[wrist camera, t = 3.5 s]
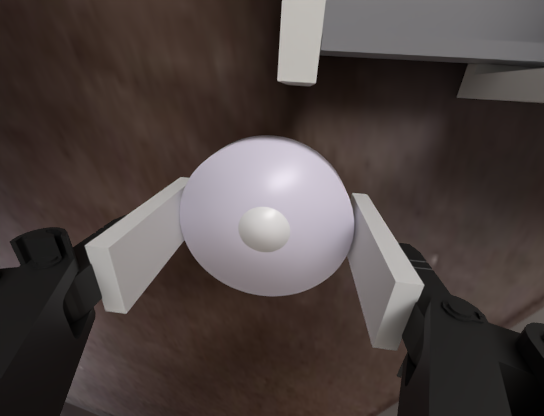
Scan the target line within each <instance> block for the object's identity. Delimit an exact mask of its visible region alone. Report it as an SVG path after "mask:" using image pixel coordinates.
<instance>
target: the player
mask: <svg viewBox="0 0 544 416" xmlns="http://www.w3.org/2000/svg"><path fill="white" fill-rule="evenodd" d="M456 98H469V99H485V100H501V101H517V102H533V103H544V67H530V66H511V65H492V64H473V63H468V66H467V68H466V71H465V74H464V77H463V80H462V83H461V86H460V89H459V92H458V94H457V97H456Z"/></svg>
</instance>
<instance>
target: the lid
mask: <svg viewBox="0 0 544 416" xmlns="http://www.w3.org/2000/svg"><path fill="white" fill-rule="evenodd" d="M179 213H180V225H181V230H182V233H183V237H184V240H185V242H186V244H187V246H188V248H189V250H190V251H191V253H192V255H193V256H194V258H195V259H196V260H197V261H198V263H199V264H200V265H201V266H202V267H203V268H204V269H205V270H206V271H207V272H208V273H210V274H211V275H212V276H213V277H215V278H216V279H218V280H219V281H221V282H222V283H224V284H226V285H228V286H230V287H232V288H235V289H237V290H240V291H243V292H246V293H250V294H255V295H261V296H285V295H292V294H296V293H300V292H303V291H306V290H308V289H311V288H313V287H315V286H317V285H318V284H320V283H322V282H323V281H325V280H326V279H327V278H328V277H330V276H331V275H332V274H333V273H334V272H335V271H336V270H337V269H338V268H339V267H340V265H341V264H342V262H343V261H344V259H345V258H346V256H347V254H348V252H349V250H350V247H351V243H352V240H353V234H354V215H353V208H352V205H351V202H350V199H349V196H348V194H347V192H346V190H345V187H344V185H343V183H342V181H341V179H340V177H339V175H338V174H337V172H336V171H335V169H334V168H333V166H332V165H331V164H330V163H329V162H328V161H327V160H326V159H325V158H324V157H323V156H322V155H321V154H319V153H318V152H317V151H315V150H314V149H312V148H311V147H309V146H307V145H305V144H303V143H301V142H299V141H296V140H293V139H290V138H286V137H281V136H274V135H259V136H251V137H247V138H243V139H239V140H237V141H235V142H232V143H230V144H228V145H227V146H225V147H223V148H222V149H220V150H219V151H217V152H216V153H215V154H213V155H212V156H210V157H209V158H208V159H207V160H205V161H204V162H203V163H202V164H201V165H200V166H199V167H198V168H197V169H196V170H195V171H194V172H193V174H192V175H191V177H190V179H189V180H188V182H187V184H186V186H185V188H184V191H183V194H182V198H181V202H180V211H179Z"/></svg>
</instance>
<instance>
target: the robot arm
mask: <svg viewBox="0 0 544 416" xmlns="http://www.w3.org/2000/svg"><path fill="white" fill-rule="evenodd" d="M189 179H190V178H184V177H180V178H179V179H177V180H176V181H175V182H173V183H172V184H170V185H169V186H168V187H166V188H165V189H163V190H162V191H160V192H159V193H158V194H156V195H155V196H153V197H152V198H151V199H149V200H148V201H146V202H145V203H144V204H142V205H141V206H139V207H138V208H137V209H135V210H134V211H132V212H131V213H130V214H128V215H124V216H122V217H119V218H117V219H114V220H112V221H111V222H110V223H108V224H107V225H105V226H104V228H101V229H99V230H98V231H96V233H93V234H92V235H91V236H89V237H88V238H86V239H85V240H83V241H82V242H80V243H79V244H77V245H76V246H74V247H72V244H71V241H70V239H69V236H68V233H67V231H66V230H65V229H62V228H58V227H52V228H43V229H37V230H34V231H30V232H27V233H25V234H22V235H20V236H18V237H16V238H14V239H13V240H11V241H10V243H11V245H12V248H13V250H14V252H15V254H16V256H17V258H18V260H19V262H20V264H21V265H20V267H15V268H4V269H0V416H60V413H61V411H62V408H63V405H64V402H65V400H66V397H67V394H68V391H69V389H70V386H71V383H72V380H73V378H74V375H75V372H76V369H77V367H78V364H79V361H80V358H81V355H82V353H83V350H84V347H85V344H86V342H87V339H88V336H89V333H90V331H91V328H92V325H93V322H94V320H95V310H94V306H95V305H96V304H97V303H98V302H99V301H100V300H101V298H102V301H103V304H104V307H105V310H106V311H110V312H117V313H125V314H126V313H127V312H128V311H129V310H130V308H131V307H132V306H133V305H134V303H135V302H136V301H137V300H138V298H139V297H140V296H141V294H142V293H143V292H144V291H145V289H146V288H147V287H148V286H149V284H150V283H151V282H152V280H153V279H154V278H155V277H156V275H157V274H158V273H159V272H160V270H161V269H162V268H163V267H164V265H165V264H166V263H167V261H168V260H169V259H170V258H171V256H172V255H173V254H174V253H175V251H176V250H177V249H178V247H179V246H180V245H181V244H182V242H183V241H184V237H183V233H182V230H181V225H180V213H179V211H180V202H181V198H182V194H183V191H184V188H185V186H186V184H187V182H188V180H189ZM350 202H351V205H352V208H353V215H354V234H353V240H352V243H351V247H350V250H349V252H348V254H347V256H348V260H349V264H350V267H351V271H352V275H353V278H354V282H355V285H356V289H357V293H358V296H359V300H360V304H361V307H362V311H363V314H364V318H365V322H366V325H367V329H368V332H369V336H370V340H371V343H372V347H374V348H382V349H389V350H396V351H397V349H398V347H399V344H400V342H401V340H402V339H403V341H404V344H405V346H406V348H407V351H408V352H407V354H406V356H405V358H404V361H403V363H402V365H401V367H400V369H399V372H398V374H397V376H398V377H400V378H401V376H402V379H401V388H400V397H399V406H398V415H397V416H544V324H542V323H530V324H528V325H526V327H525V328H524V330H523V331H522V332H521V333H518V332H515V331H512V330H509V329H506V328H503V327H500V326H497V325H494V324H491V323H489V322H488V321H487V319H486V317H485V315H484V314H483V313H482V312H481V311H480V310H479V309H478V308H476V307H475V306H473V305H472V304H470V303H469V302H467V301H465V300H463V299H461V298H459V297H457V296H453V295H451V294H450V293H449V291H448V290H447V289H446V287H445V286H444V284H443V283H442V282H441V280H440V279H439V278H438V276H437V275H436V274H435V272H434V271H433V270H432V268H431V267H430V265H429V264H428V263H426V260H425V258H424V257H423V256H422V254H421V253H420V252H419V251H418V250H416V249H415V248H414V247H412V246H411V245H410V244H404V243H398V242H397V241H396V239H395V238H394V236H393V235H392V233H391V231H390V230H389V228H388V227H387V225H386V223H385V222H384V220H383V219H382V217H381V216H380V214H379V212H378V211H377V209H376V208H375V206H374V204H373V203H372V201H371V200H370V198H369V197H368V195H367V194H357V193H352V196H351V200H350Z"/></svg>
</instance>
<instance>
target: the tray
mask: <svg viewBox="0 0 544 416" xmlns="http://www.w3.org/2000/svg"><path fill="white" fill-rule="evenodd" d="M319 55H322V56H341V57H360V58H379V59H397V60H416V61H435V62H454V63H473V64H492V65H511V66H530V67H544V0H282V10H281V27H280V43H279V60H278V77H277V81H279V82H281V83H284V84H286V85H296V86H312V85H314V84H315V83H316V78H317V70H318V62H319Z"/></svg>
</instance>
